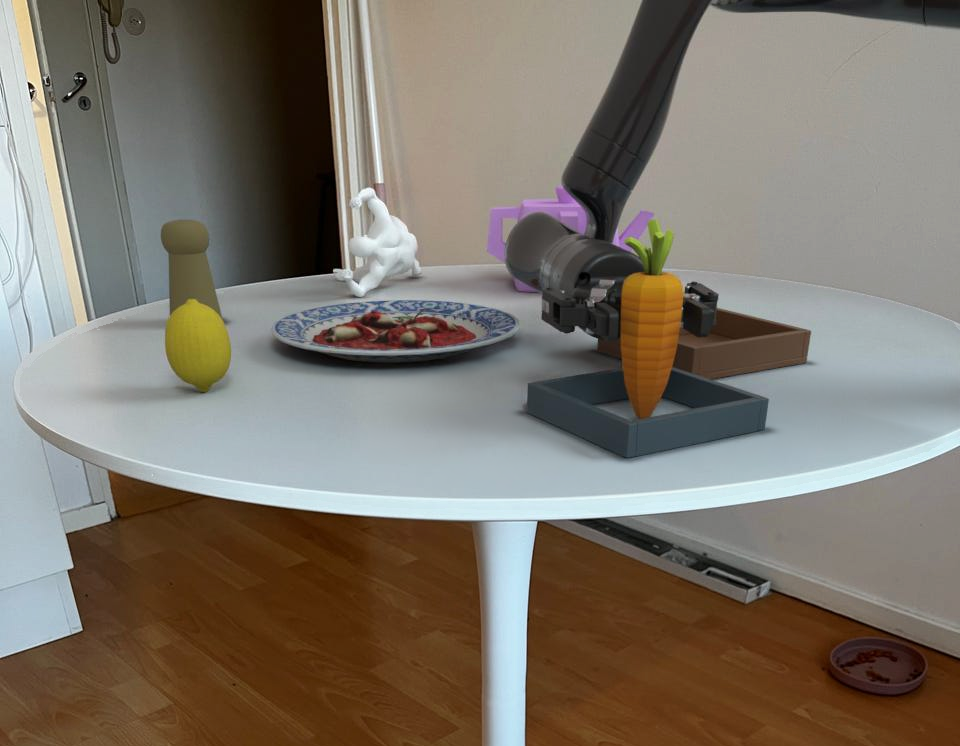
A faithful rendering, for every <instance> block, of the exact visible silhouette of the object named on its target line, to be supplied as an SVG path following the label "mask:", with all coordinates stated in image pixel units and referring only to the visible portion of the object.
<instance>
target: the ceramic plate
mask: <svg viewBox="0 0 960 746" xmlns="http://www.w3.org/2000/svg"><path fill="white" fill-rule="evenodd" d="M520 328H521V321H520V320H519V319H518V318H517V317H516V316H514V314H512V313H509V312H507V311H504V310H502V309H498V308H494V307H490V306H485V305H480V304H475V303H467V302H458V301H449V300H447V301H446V300H444V301H443V300H424V299H423V300H422V299H421V300H420V299H395V300H394V299H393V300H369V301H358V302H347V303H338V304H332V305H326V306H321V307H320V306H319V307H315V308H310V309H304V310H301V311H297V312H294V313H291V314H288V315H286V316H284V317H281V318H280V319H278V320H277V321H275V322H274V323H272V326H271V328H270V330H271V331H270V332H271V334H272V336H273V337H274V338H275V339H277V340H278V341H280V342H282V343H284V344H286V345H288V346H292V347H295V348H299V349H302V350H306V351H307V350H308V351H313V352H318V353H321V354H325V355H327V356H330V357H332V358H339V359H344V360H349V361H352V362H362V363H363V362H364V363H365V362H366V363H377V364H380V363H381V364H388V363H389V364H391V363H392V364H397V363H399V364H400V363H416V362H417V363H418V362H428V361H433V360H441V359H447V358H451V357H455V356H458V355H461V354H464V353H467V352H469V351H470V350H472V349H476V348H480V347H484V346H489V345H493V344H496V343H499V342H501V341H504V340H506V339H509V338H510V337H512V336H514V335H515V334H516V333H517V332H518V331H519V330H520Z"/></svg>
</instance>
